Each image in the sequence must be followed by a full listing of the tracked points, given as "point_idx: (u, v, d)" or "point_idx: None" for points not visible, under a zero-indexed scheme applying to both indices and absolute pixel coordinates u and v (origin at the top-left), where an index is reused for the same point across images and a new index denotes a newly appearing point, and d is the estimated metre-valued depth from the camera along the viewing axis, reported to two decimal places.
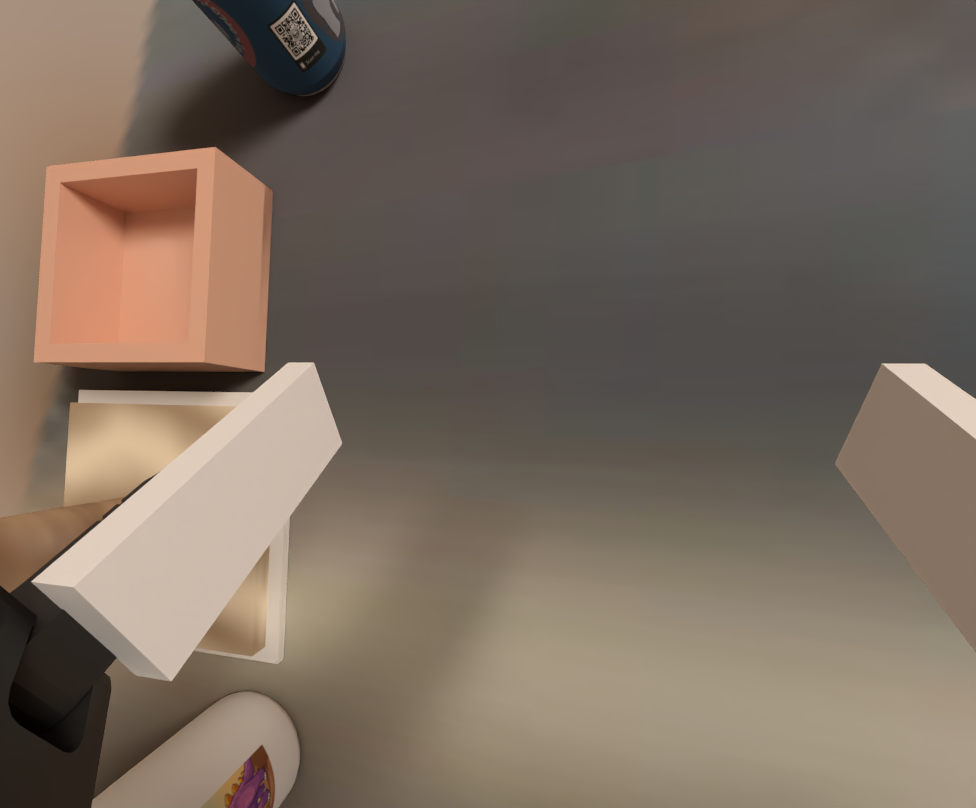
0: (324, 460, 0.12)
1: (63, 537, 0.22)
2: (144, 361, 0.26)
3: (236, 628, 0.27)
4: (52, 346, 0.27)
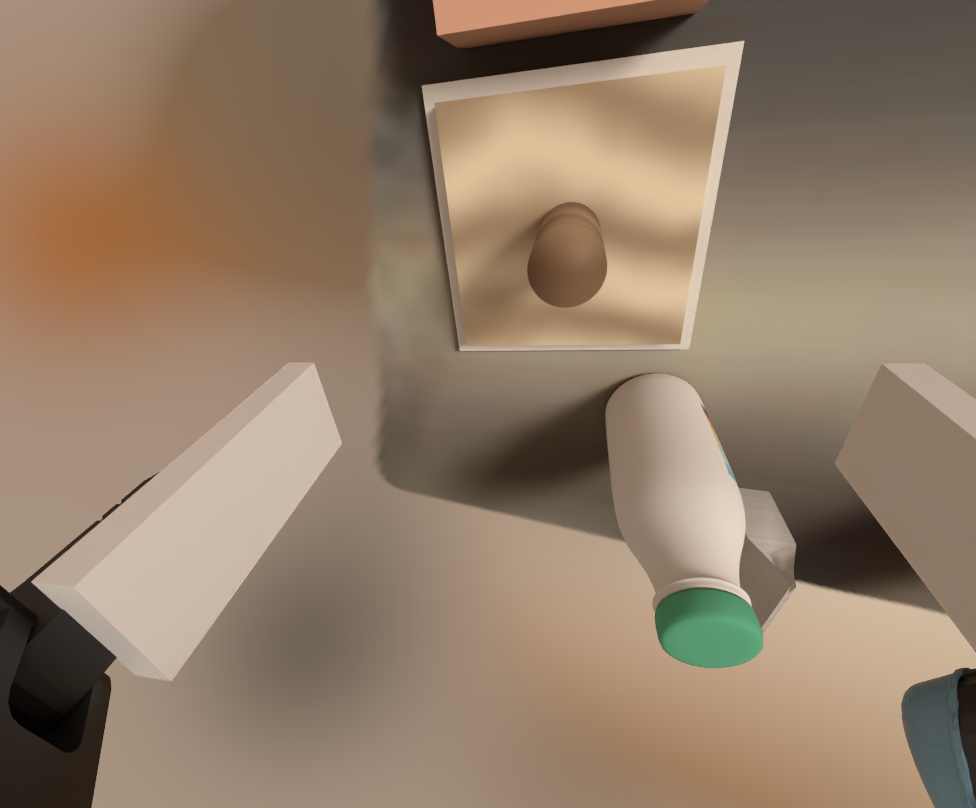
0: (324, 460, 0.12)
1: (603, 244, 0.22)
2: (618, 4, 0.19)
3: (665, 323, 0.30)
4: (463, 1, 0.20)
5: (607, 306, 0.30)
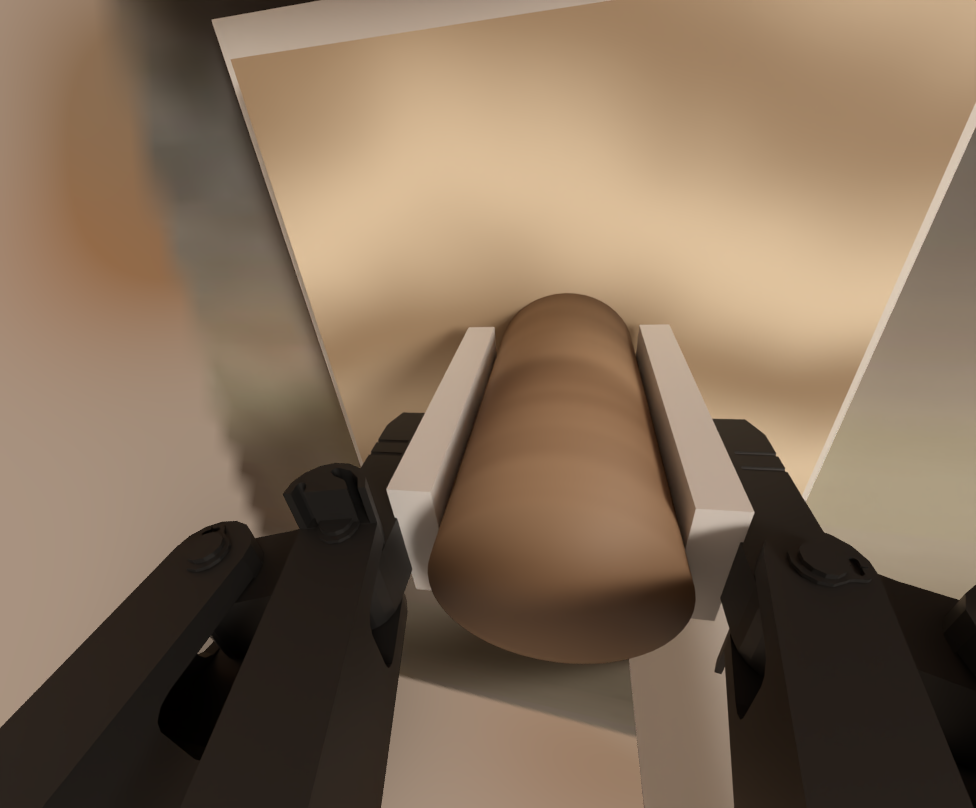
0: None
1: (671, 499, 0.07)
2: None
3: None
4: None
5: None
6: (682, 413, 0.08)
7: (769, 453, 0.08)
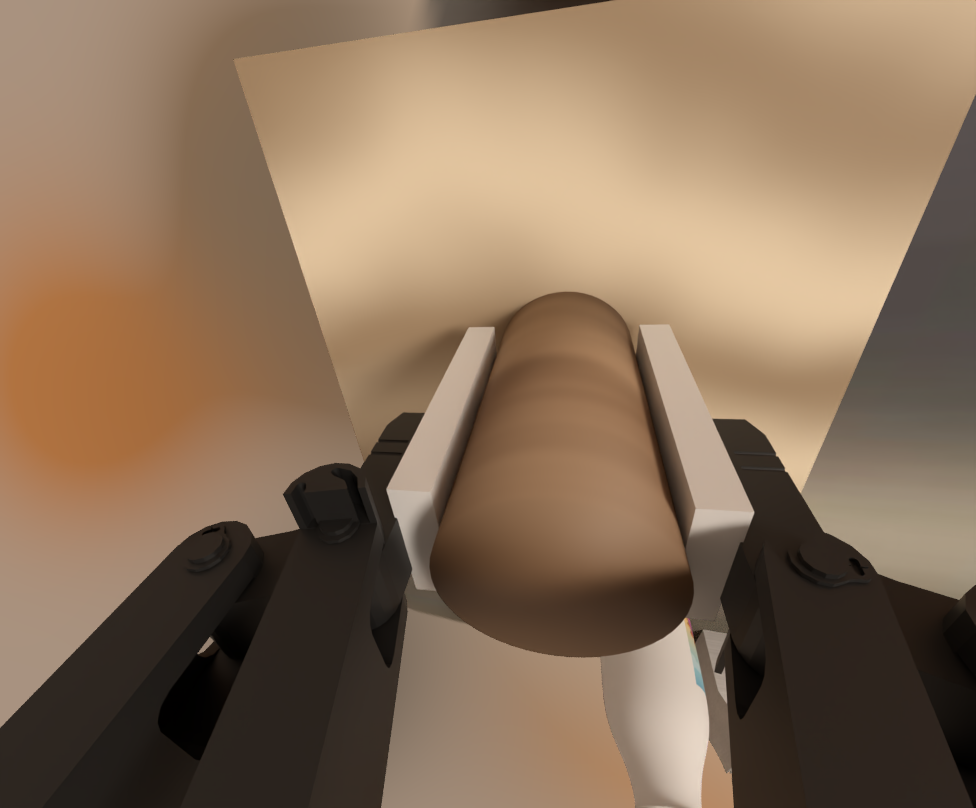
0: None
1: (670, 494, 0.07)
2: None
3: None
4: None
5: None
6: (682, 413, 0.08)
7: (769, 453, 0.08)
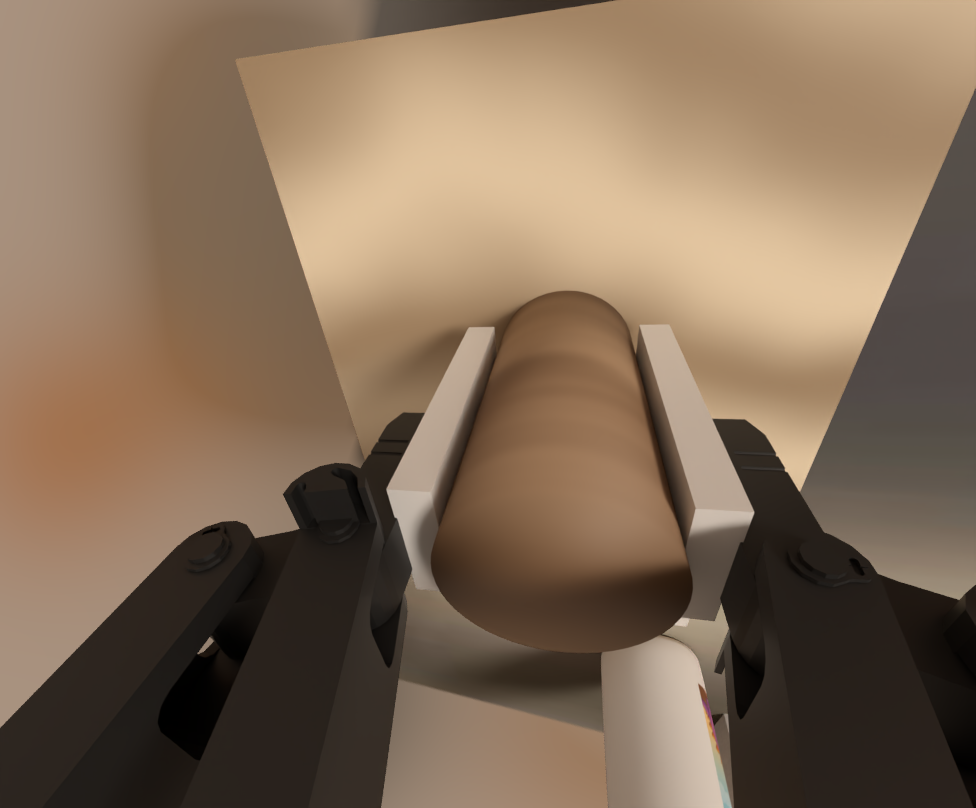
0: None
1: (669, 491, 0.07)
2: None
3: None
4: None
5: None
6: (682, 413, 0.08)
7: (769, 453, 0.08)
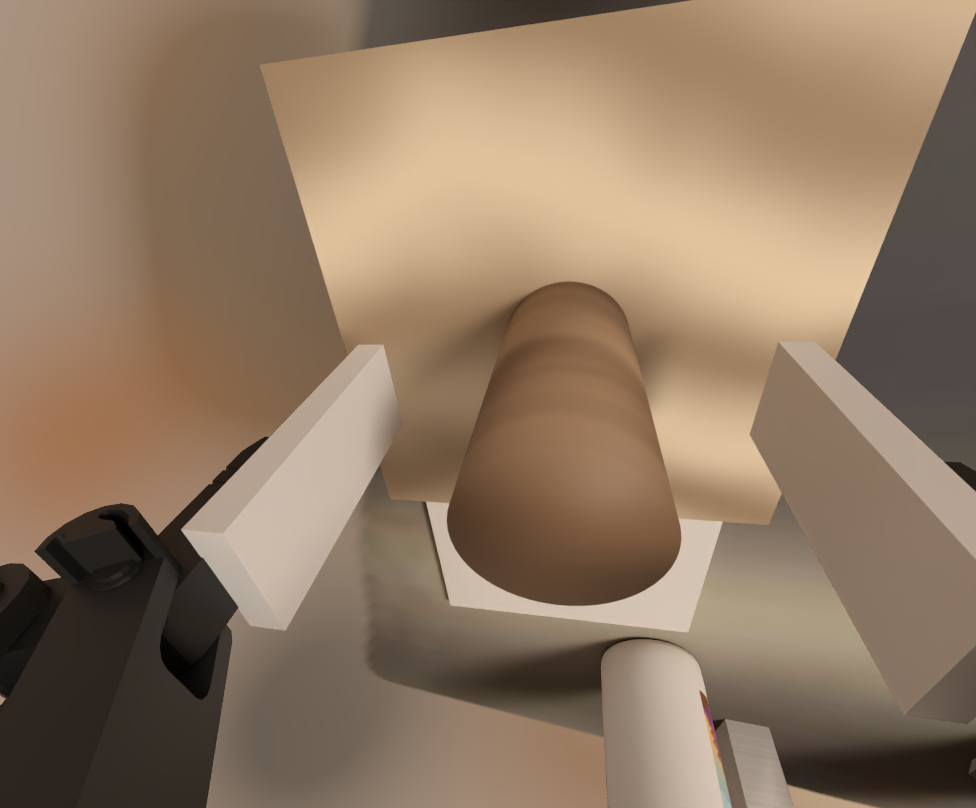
0: (390, 438, 0.12)
1: (661, 456, 0.08)
2: None
3: (745, 493, 0.16)
4: None
5: None
6: (905, 459, 0.06)
7: None
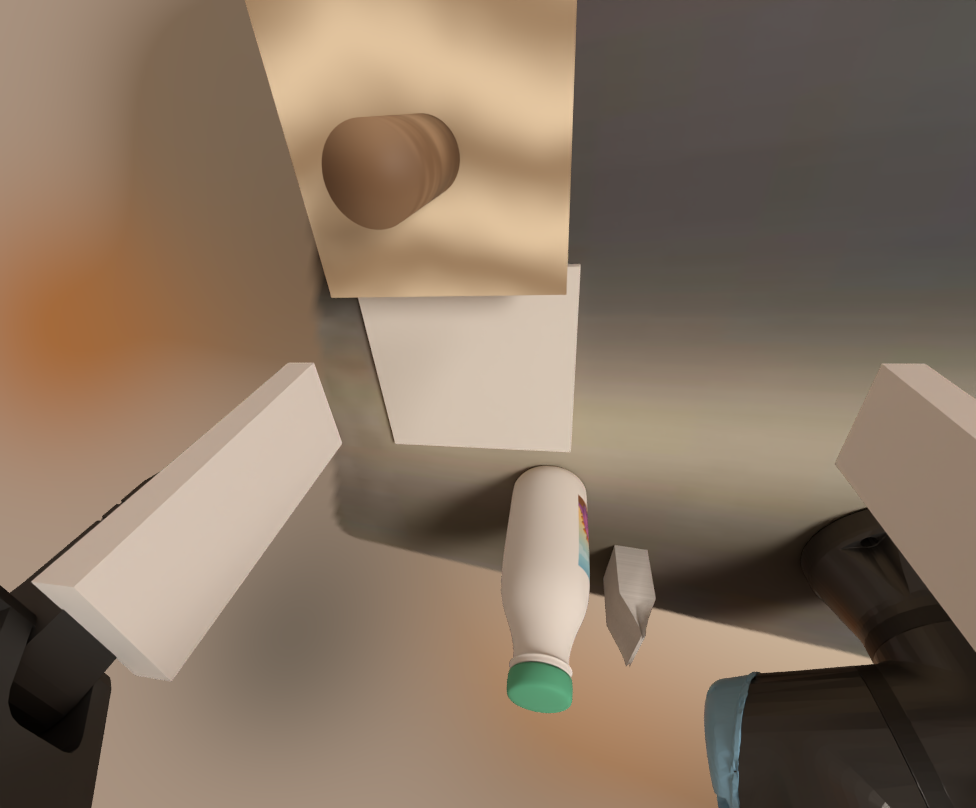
0: (324, 460, 0.12)
1: (419, 147, 0.17)
2: None
3: (547, 269, 0.26)
4: None
5: (480, 248, 0.26)
6: None
7: None
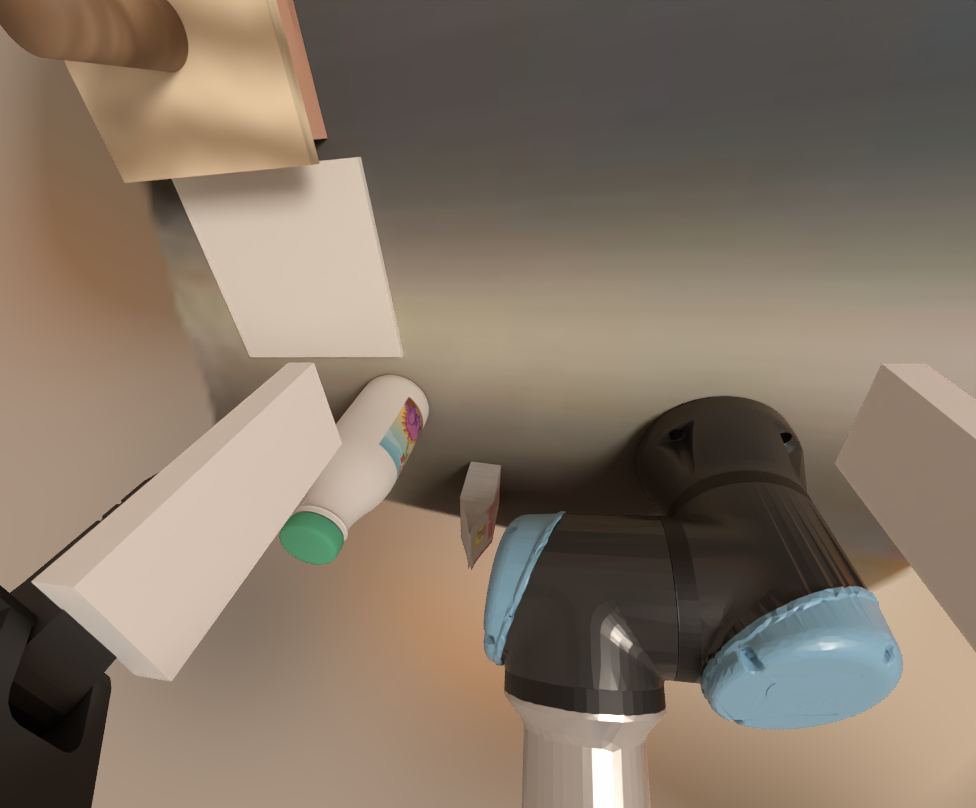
0: (325, 460, 0.12)
1: None
2: None
3: (287, 139, 0.29)
4: None
5: (228, 121, 0.29)
6: None
7: None
